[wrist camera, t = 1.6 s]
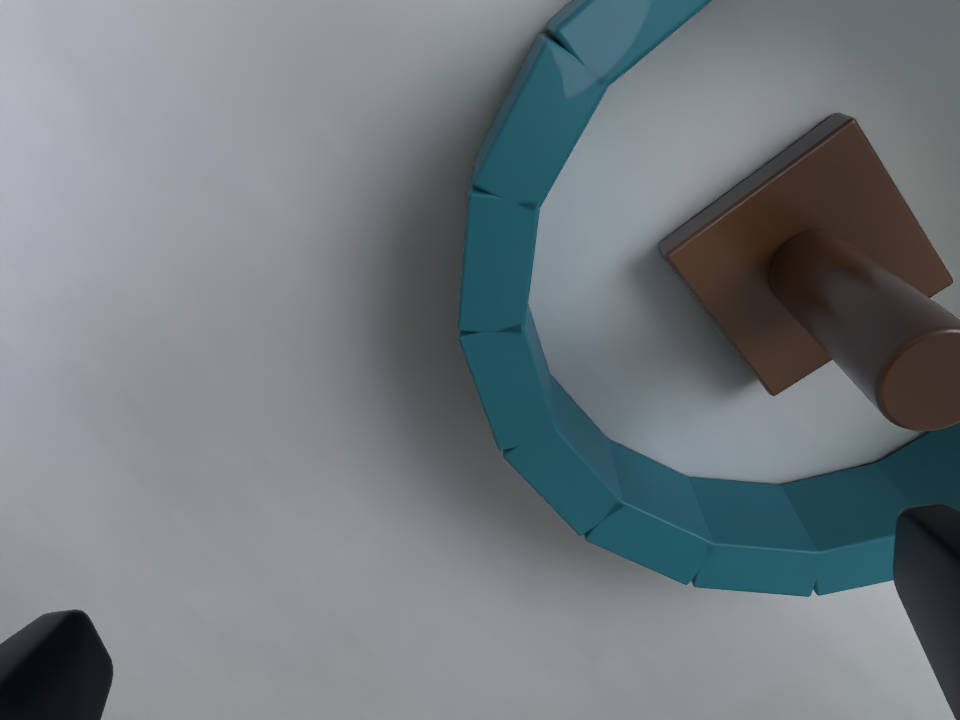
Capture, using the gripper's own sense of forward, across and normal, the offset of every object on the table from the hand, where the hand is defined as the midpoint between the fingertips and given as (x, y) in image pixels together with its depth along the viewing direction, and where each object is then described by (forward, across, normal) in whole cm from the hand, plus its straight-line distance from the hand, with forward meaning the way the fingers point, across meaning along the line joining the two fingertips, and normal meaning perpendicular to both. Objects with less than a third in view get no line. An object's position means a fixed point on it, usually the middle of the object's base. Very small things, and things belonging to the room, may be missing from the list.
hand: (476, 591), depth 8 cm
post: (+8, -6, 0) cm, 10 cm away
